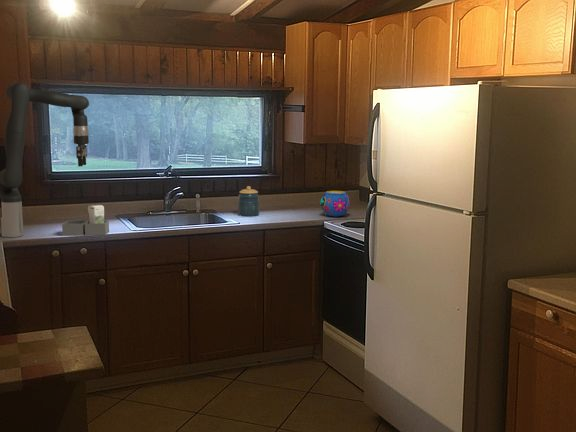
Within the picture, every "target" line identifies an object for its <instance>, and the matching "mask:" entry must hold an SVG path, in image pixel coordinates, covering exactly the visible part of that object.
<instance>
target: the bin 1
mask: <svg viewBox="0 0 576 432" xmlns="http://www.w3.org/2000/svg"><path fill="white" fill-rule="evenodd" d="M86 222H88V220H66V221H64V222H63V223H62V224H61V231H62V236H63V237H65V236H66V237H68V236H69V237H70V236H71V237H73V236H75V237H78V236H85V223H86Z"/></svg>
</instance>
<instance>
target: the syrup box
mask: <svg viewBox="0 0 576 432" xmlns="http://www.w3.org/2000/svg"><path fill="white" fill-rule="evenodd" d="M87 214H88V218H87V219H88V220H87V222H88V223H89V224H104V220H105V206H104V205H102V204H95V205H93V204H92V205H88V206H87Z"/></svg>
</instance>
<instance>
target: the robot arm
mask: <svg viewBox="0 0 576 432" xmlns="http://www.w3.org/2000/svg"><path fill="white" fill-rule="evenodd" d="M5 89H6V90H5V93H6V96H7V98H8V99H9V100H10V101H11V109H10V113H9V117H8V119H7V121H6V124H5V127H4V128H5V129H4V139H3V141H4V142H3V143H4V149H5V154H6V164H5V168H4V169H2V170H1V171H0V201H1V204H0V205H1V216H2V217H0V224H1V226H0V227H1V237H4V238H18V237H22V236H24V222H23V221H24V220H23V219H24V218H23V205H22V204H23V203H22V195H21V194H20V190H19V187H20V186H21V184H22V183H23V175H24V174H23V159H24V150H25V149H24V148H25V141H26V127H27V117H28V116H27V113H28V107H29V103H30V102H33V103H41V104H45V105H49V106H55V107H61V108H70V109H71V114H72V117H73V119H72V121H73V129H72V133H73V144H74V145H77V146H76V147H75V152H76V153H75V154H76V155H75V157H76V159H77V166H78V167H83V166H86V165H87V157H88V150H87V149H88V147H87V146H88V144H89V143H90V141H89V138H90V137H89V127H88V125H89V124H88V116H87V115H86V114H85V110H86V109H87V108H88V107H89V106H90V101H89V99H88V98H87V97H86V96H83V95H79V94H68V93H66V92H65V93H64V92H59V91H53V90H44V89H43V90H42V89H41V90H40V89H35V88H31V87H29V85H28V84H27V83H24V82H12V83H10V84H9V85H7V86H6V88H5Z"/></svg>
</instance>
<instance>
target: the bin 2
mask: <svg viewBox="0 0 576 432" xmlns="http://www.w3.org/2000/svg"><path fill="white" fill-rule="evenodd" d="M109 232H110V221H109V220H108V219H107V220H105V219H104V224H89V223H88V221H87V222H86V223H85V234H84V236H86V237H88V236H93V237H94V236H98V237H99V236H107V235H108V234H109Z"/></svg>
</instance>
